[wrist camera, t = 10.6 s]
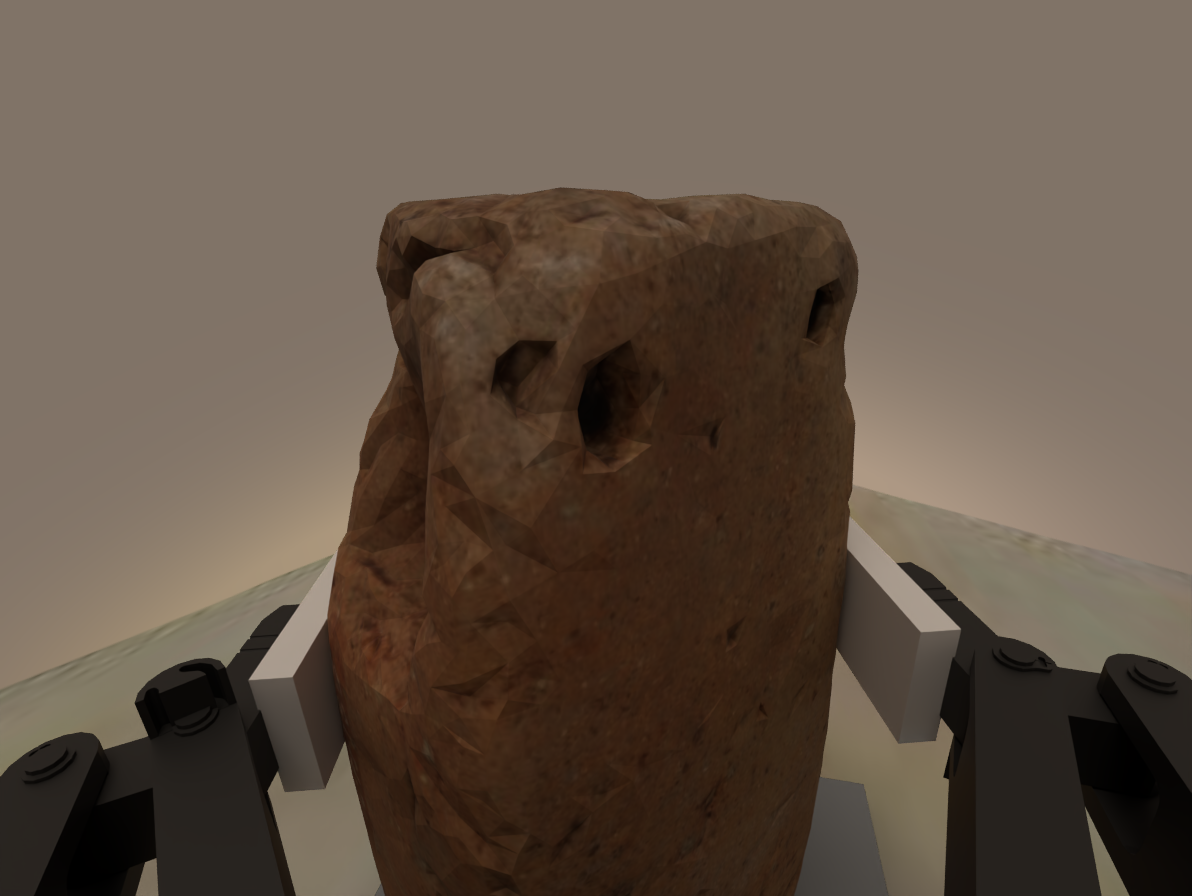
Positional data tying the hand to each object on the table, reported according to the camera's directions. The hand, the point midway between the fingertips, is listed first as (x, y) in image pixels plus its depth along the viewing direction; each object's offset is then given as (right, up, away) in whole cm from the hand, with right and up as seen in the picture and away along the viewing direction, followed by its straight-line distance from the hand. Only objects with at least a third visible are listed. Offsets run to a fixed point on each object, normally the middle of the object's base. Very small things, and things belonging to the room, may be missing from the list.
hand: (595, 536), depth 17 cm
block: (+1, -12, 0) cm, 12 cm away
